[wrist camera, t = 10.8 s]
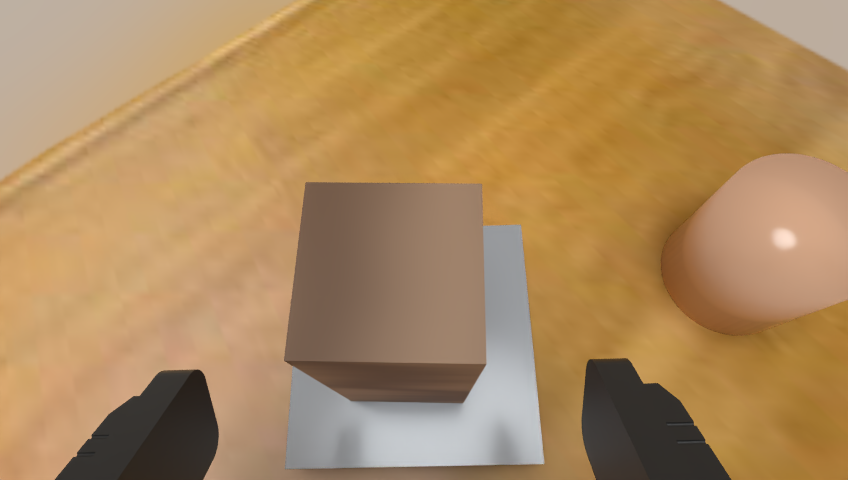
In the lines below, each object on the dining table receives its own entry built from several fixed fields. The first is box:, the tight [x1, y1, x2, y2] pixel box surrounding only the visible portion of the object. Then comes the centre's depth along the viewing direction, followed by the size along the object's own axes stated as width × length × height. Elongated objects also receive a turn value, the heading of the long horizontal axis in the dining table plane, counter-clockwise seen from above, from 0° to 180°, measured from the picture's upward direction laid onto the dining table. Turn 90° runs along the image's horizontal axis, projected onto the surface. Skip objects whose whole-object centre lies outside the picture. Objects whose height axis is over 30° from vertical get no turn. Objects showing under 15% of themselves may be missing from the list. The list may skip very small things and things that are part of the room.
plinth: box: [285, 225, 544, 469], centre depth 23 cm, size 10×10×3 cm
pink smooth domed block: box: [661, 154, 848, 336], centre depth 22 cm, size 6×6×6 cm
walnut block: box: [284, 182, 487, 403], centre depth 17 cm, size 4×4×10 cm
